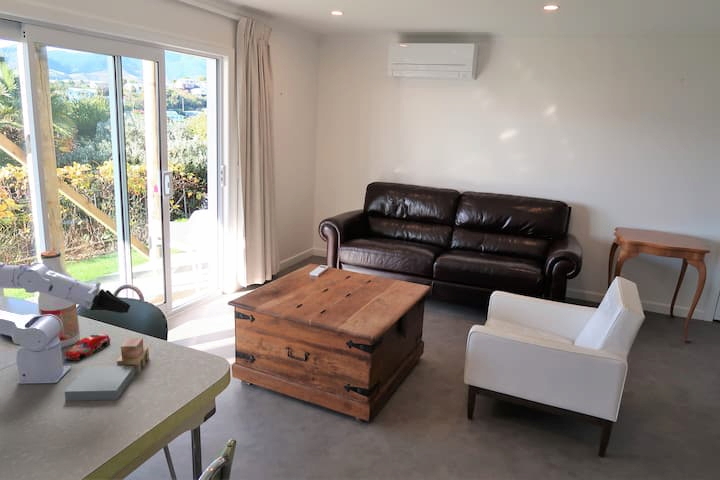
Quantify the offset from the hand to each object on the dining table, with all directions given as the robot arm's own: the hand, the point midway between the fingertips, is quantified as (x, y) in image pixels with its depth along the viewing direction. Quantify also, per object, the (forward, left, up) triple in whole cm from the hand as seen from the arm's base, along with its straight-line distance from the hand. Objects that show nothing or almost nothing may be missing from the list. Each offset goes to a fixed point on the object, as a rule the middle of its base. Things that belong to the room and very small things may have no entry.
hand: (127, 309), depth 128 cm
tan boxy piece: (-1, +3, -18) cm, 18 cm away
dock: (-5, -8, -18) cm, 20 cm away
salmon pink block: (-1, +3, -15) cm, 15 cm away
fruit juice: (-27, +18, -18) cm, 37 cm away
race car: (-17, +12, -19) cm, 28 cm away
